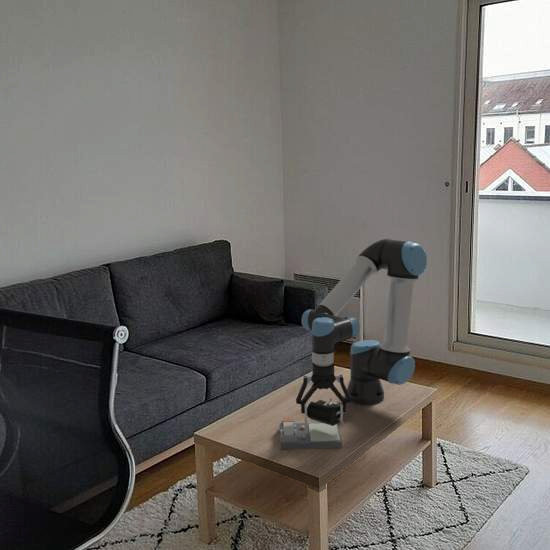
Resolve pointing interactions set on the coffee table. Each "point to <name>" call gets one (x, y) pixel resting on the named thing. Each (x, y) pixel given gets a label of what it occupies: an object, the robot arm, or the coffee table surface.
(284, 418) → the terracotta switch
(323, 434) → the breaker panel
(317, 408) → the end cap
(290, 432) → the off-white switch
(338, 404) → the game die
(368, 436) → the coffee table surface
